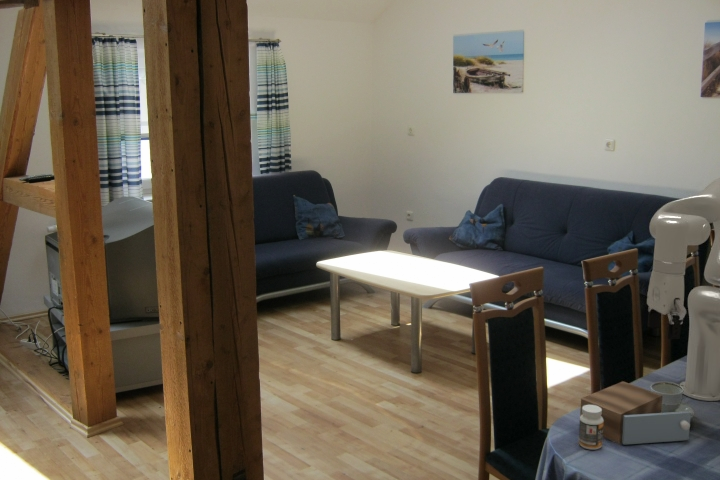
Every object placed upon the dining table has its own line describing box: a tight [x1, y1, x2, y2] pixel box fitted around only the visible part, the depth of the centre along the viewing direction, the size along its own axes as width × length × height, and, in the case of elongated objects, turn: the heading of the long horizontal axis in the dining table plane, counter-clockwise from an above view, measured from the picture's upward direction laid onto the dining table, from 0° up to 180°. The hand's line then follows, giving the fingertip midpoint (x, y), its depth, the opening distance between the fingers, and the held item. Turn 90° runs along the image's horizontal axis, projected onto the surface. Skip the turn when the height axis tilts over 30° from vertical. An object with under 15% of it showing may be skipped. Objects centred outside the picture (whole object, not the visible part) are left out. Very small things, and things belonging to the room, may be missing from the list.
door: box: [621, 410, 692, 445], centre depth 184 cm, size 17×2×7 cm, turn 95°
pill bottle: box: [578, 405, 604, 451], centre depth 185 cm, size 6×6×10 cm
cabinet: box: [579, 380, 663, 445], centre depth 195 cm, size 18×12×8 cm, turn 125°
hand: (663, 332), depth 188 cm, fingers open, 9 cm apart
